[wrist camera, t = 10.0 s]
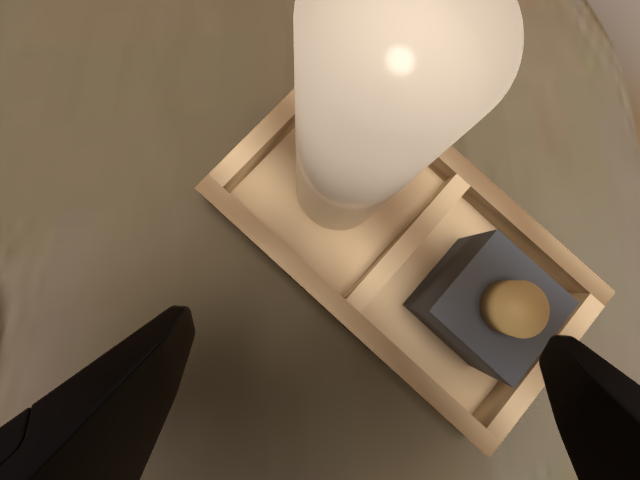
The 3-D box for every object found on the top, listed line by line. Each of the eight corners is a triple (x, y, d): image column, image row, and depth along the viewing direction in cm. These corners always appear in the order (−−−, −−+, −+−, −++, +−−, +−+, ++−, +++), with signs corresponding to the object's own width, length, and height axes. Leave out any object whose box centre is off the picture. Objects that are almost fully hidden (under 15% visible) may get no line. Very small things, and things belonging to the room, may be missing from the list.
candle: (312, 241, 20) (341, 169, 7) (284, 162, 20) (261, -48, 7) (392, 213, 20) (559, 96, 7) (363, 137, 21) (472, -103, 8)
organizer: (464, 435, 20) (538, 504, 14) (207, 199, 21) (169, 165, 14) (577, 290, 22) (690, 295, 15) (333, 71, 22) (347, -9, 16)
